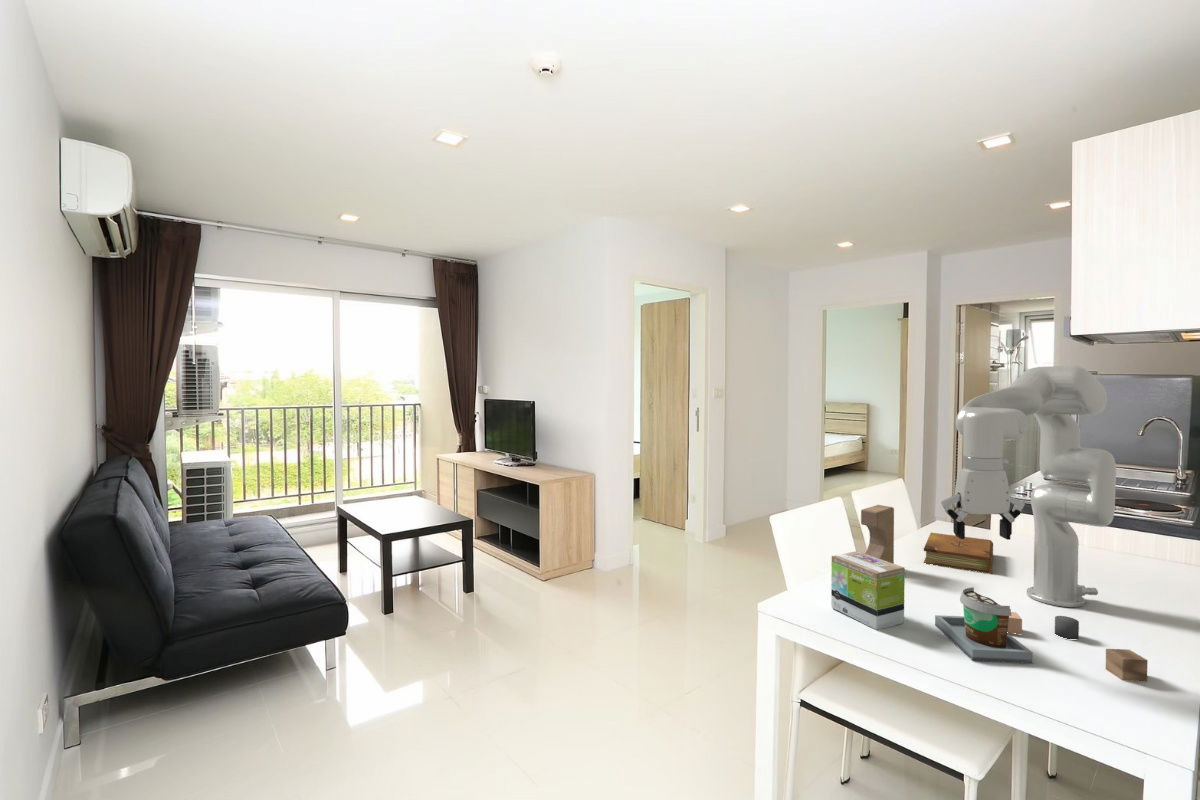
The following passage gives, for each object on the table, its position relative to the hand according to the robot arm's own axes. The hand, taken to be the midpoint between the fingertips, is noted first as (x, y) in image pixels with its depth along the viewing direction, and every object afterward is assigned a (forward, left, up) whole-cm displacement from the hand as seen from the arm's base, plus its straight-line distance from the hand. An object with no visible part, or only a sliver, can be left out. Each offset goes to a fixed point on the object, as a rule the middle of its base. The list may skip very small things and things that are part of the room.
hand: (982, 537), depth 132 cm
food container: (+1, 0, -24) cm, 24 cm away
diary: (-25, -64, -25) cm, 73 cm away
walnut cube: (-22, +12, -25) cm, 35 cm away
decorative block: (+6, -50, -25) cm, 56 cm away
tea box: (+21, -13, -25) cm, 35 cm away
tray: (0, 0, -25) cm, 25 cm away
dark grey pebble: (-22, -6, -25) cm, 33 cm away
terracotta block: (-10, -8, -25) cm, 28 cm away
